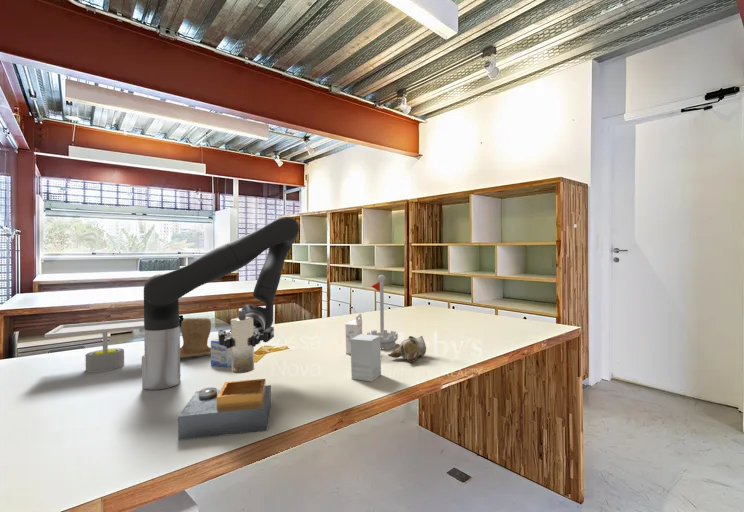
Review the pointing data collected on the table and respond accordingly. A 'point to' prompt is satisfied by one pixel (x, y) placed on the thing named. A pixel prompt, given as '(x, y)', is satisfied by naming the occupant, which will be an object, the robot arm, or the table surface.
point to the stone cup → (195, 337)
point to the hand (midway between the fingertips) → (241, 343)
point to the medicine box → (220, 354)
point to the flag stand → (385, 338)
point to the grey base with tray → (226, 410)
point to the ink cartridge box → (352, 331)
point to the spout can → (242, 343)
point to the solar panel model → (105, 357)
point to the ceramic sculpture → (410, 349)
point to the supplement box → (365, 357)
